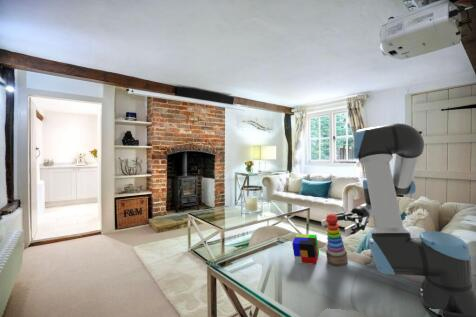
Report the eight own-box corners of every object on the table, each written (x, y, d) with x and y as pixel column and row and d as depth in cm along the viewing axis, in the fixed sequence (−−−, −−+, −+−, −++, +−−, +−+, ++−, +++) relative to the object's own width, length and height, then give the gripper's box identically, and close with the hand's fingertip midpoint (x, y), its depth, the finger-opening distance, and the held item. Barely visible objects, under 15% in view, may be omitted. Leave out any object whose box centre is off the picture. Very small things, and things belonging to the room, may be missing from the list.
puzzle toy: (295, 262, 116) (292, 243, 115) (299, 251, 125) (296, 234, 124) (316, 264, 111) (313, 244, 110) (319, 253, 120) (316, 234, 119)
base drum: (352, 262, 108) (350, 254, 107) (334, 268, 106) (333, 259, 105) (339, 253, 116) (338, 246, 116) (323, 258, 115) (322, 251, 114)
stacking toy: (347, 256, 106) (341, 216, 104) (329, 257, 108) (323, 218, 106) (343, 247, 114) (338, 210, 112) (326, 249, 115) (320, 212, 114)
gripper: (388, 226, 109) (358, 243, 99) (342, 214, 131) (314, 227, 122) (386, 211, 108) (356, 226, 99) (340, 201, 130) (312, 213, 121)
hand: (333, 227), depth 110 cm, fingers open, 13 cm apart
